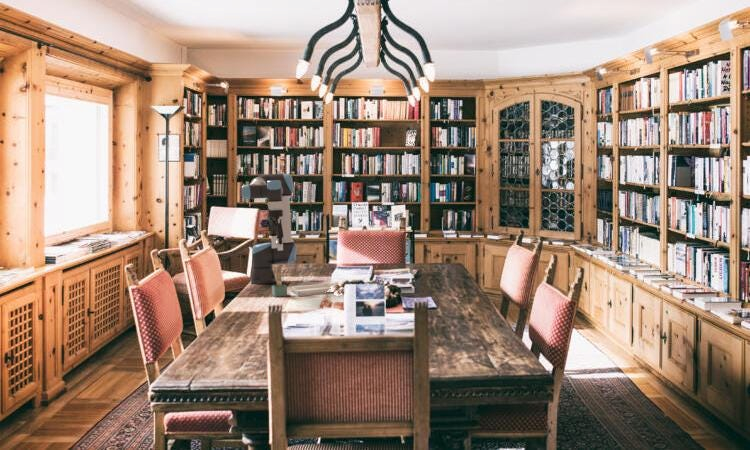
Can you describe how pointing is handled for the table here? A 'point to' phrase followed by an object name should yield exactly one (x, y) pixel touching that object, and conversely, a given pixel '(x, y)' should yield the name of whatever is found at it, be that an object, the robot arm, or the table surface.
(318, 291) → the tray
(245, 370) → the table surface
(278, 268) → the dowel
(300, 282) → the table surface
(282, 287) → the pen cup
